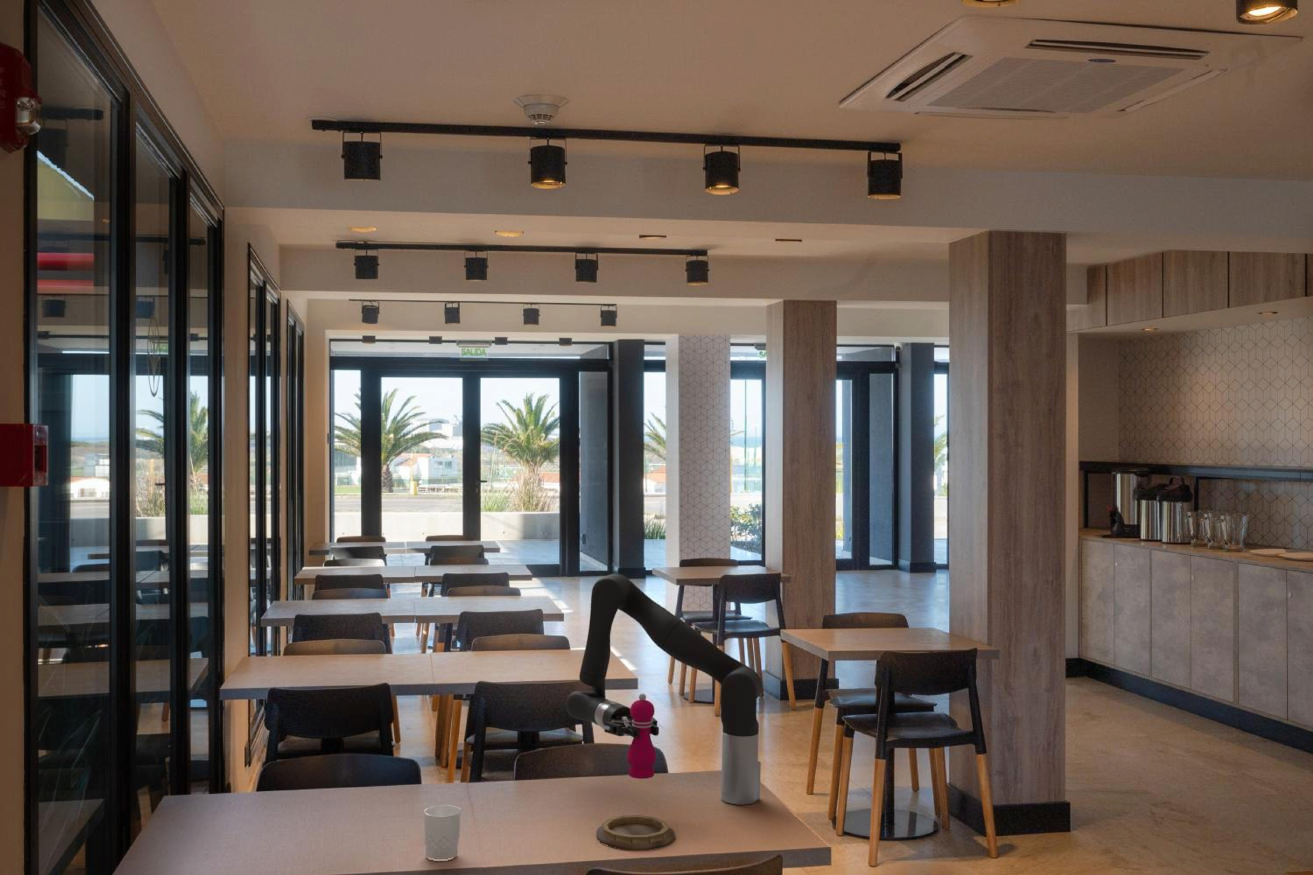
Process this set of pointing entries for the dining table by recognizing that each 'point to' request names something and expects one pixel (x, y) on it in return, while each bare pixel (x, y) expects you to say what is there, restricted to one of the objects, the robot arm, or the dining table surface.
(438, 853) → the white cup
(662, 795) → the dining table surface
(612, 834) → the tray
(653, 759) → the pepper mill
